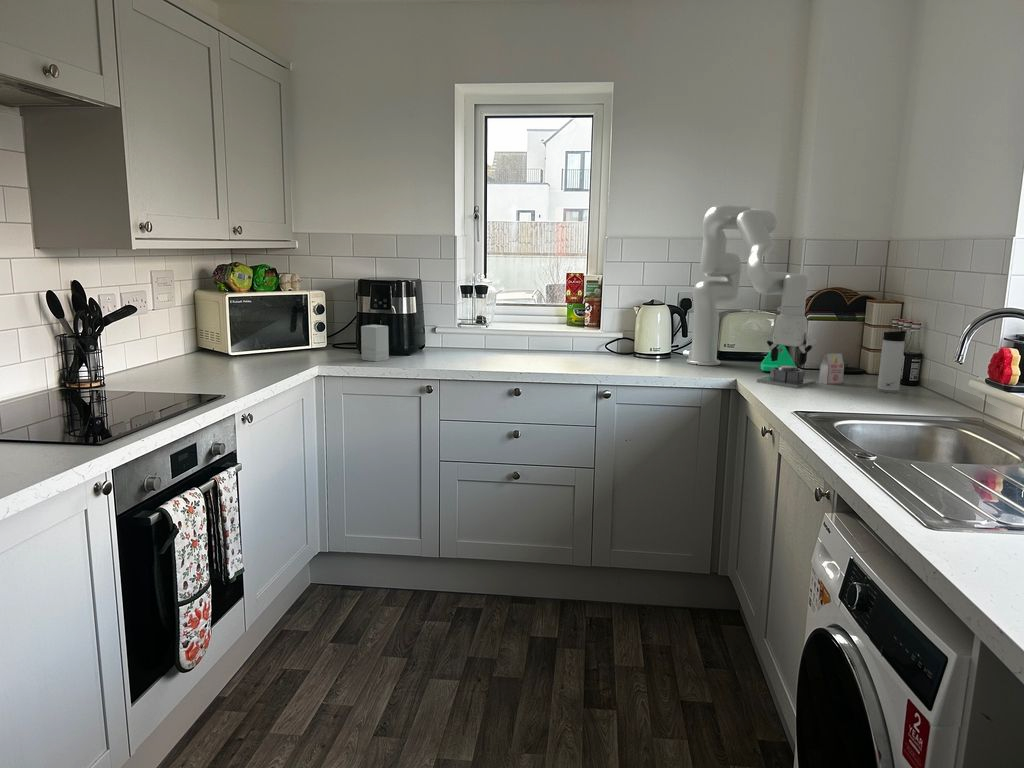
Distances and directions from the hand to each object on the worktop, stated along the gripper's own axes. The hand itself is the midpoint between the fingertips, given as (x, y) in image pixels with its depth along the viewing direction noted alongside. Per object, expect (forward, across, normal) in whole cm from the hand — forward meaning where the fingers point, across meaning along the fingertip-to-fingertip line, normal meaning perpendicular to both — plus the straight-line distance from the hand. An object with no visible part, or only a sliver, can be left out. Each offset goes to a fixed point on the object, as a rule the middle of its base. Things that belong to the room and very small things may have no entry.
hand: (787, 362), depth 257 cm
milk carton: (+7, +10, +12) cm, 17 cm away
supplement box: (+7, -121, -81) cm, 146 cm away
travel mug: (+7, +29, +11) cm, 32 cm away
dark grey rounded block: (+6, 0, 0) cm, 6 cm away
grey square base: (+7, 0, 0) cm, 7 cm away
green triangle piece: (+7, -12, +18) cm, 23 cm away
